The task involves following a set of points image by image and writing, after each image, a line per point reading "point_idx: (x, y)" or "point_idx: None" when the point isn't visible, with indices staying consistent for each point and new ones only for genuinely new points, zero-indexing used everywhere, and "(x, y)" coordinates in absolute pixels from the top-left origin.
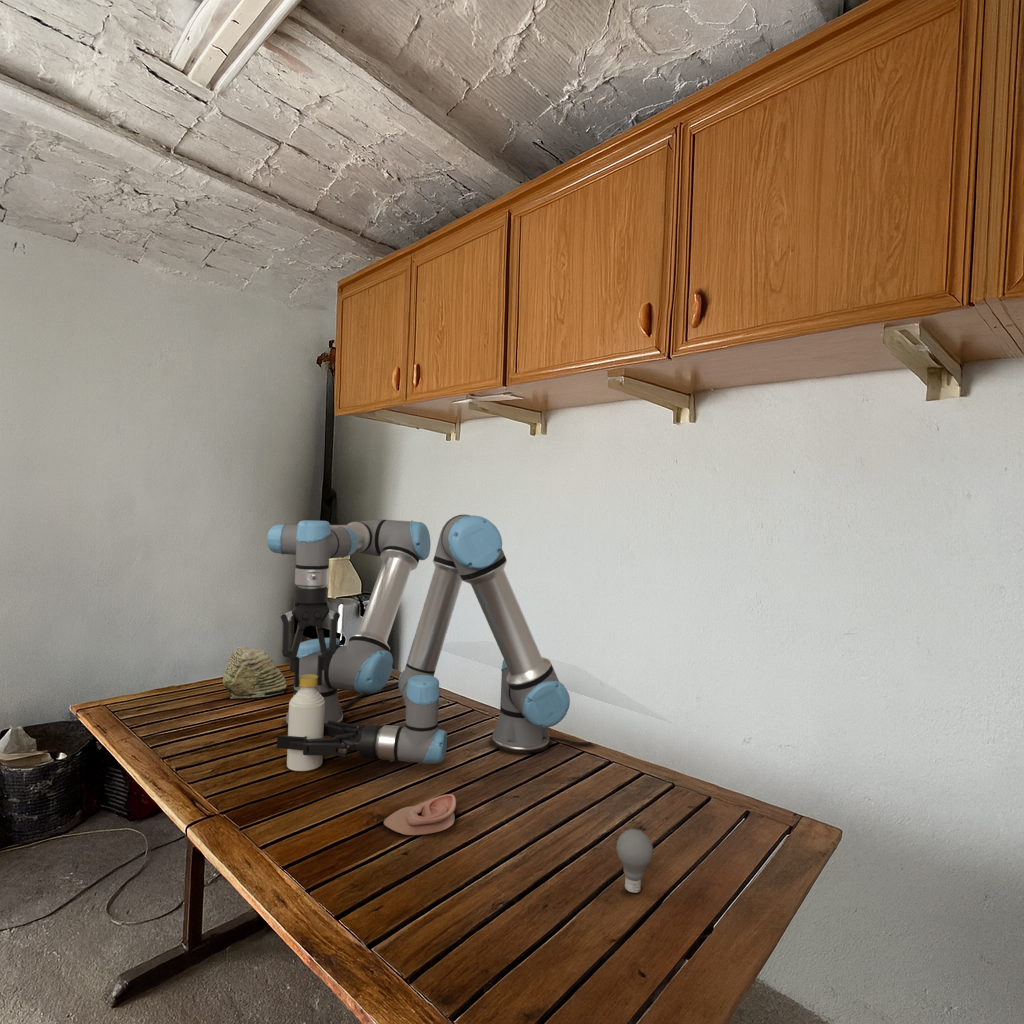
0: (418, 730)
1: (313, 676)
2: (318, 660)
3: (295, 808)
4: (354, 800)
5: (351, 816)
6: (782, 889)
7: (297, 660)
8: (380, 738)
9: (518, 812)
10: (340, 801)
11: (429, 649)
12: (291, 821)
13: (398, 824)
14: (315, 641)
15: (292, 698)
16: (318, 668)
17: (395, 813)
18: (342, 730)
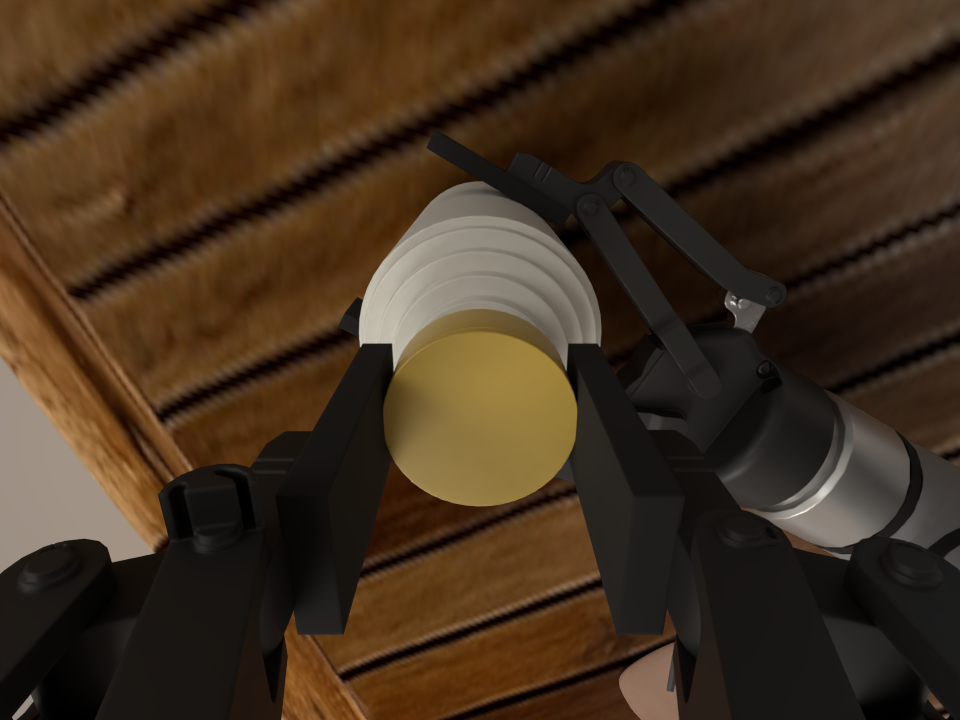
0: None
1: (533, 421)
2: (612, 528)
3: (423, 549)
4: (586, 554)
5: (557, 621)
6: None
7: (320, 622)
8: (771, 521)
9: (940, 708)
10: (547, 548)
11: None
12: (410, 603)
13: (645, 712)
14: None
15: (377, 310)
16: (590, 489)
17: (656, 680)
18: (655, 330)
